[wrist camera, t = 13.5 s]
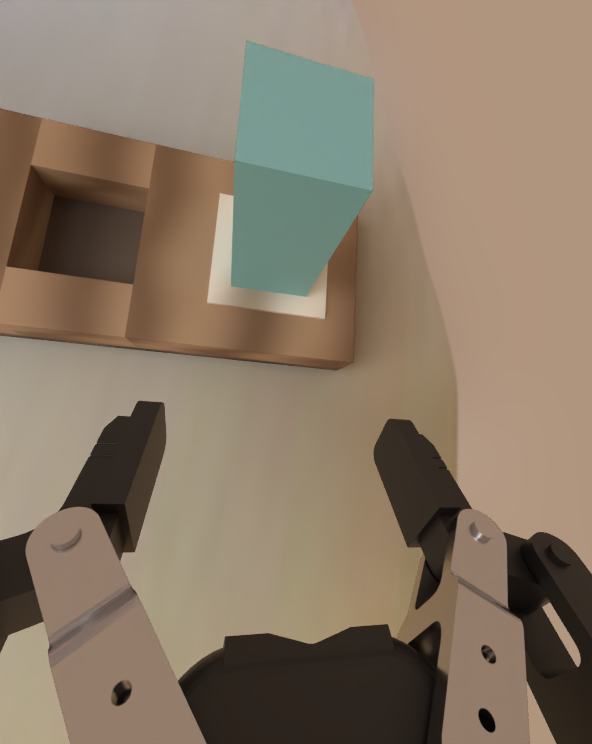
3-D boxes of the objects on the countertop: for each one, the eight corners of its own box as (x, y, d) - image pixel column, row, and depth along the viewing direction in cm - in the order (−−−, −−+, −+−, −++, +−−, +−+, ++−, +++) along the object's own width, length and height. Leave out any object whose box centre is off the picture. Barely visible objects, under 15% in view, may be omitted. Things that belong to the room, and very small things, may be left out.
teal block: (230, 286, 18) (234, 160, 9) (237, 216, 19) (246, 40, 10) (305, 296, 19) (372, 190, 10) (309, 229, 20) (373, 78, 11)
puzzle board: (-32, 332, 18) (-86, 313, 15) (15, 150, 20) (-24, 99, 17) (336, 370, 22) (354, 361, 19) (342, 218, 24) (359, 188, 21)
